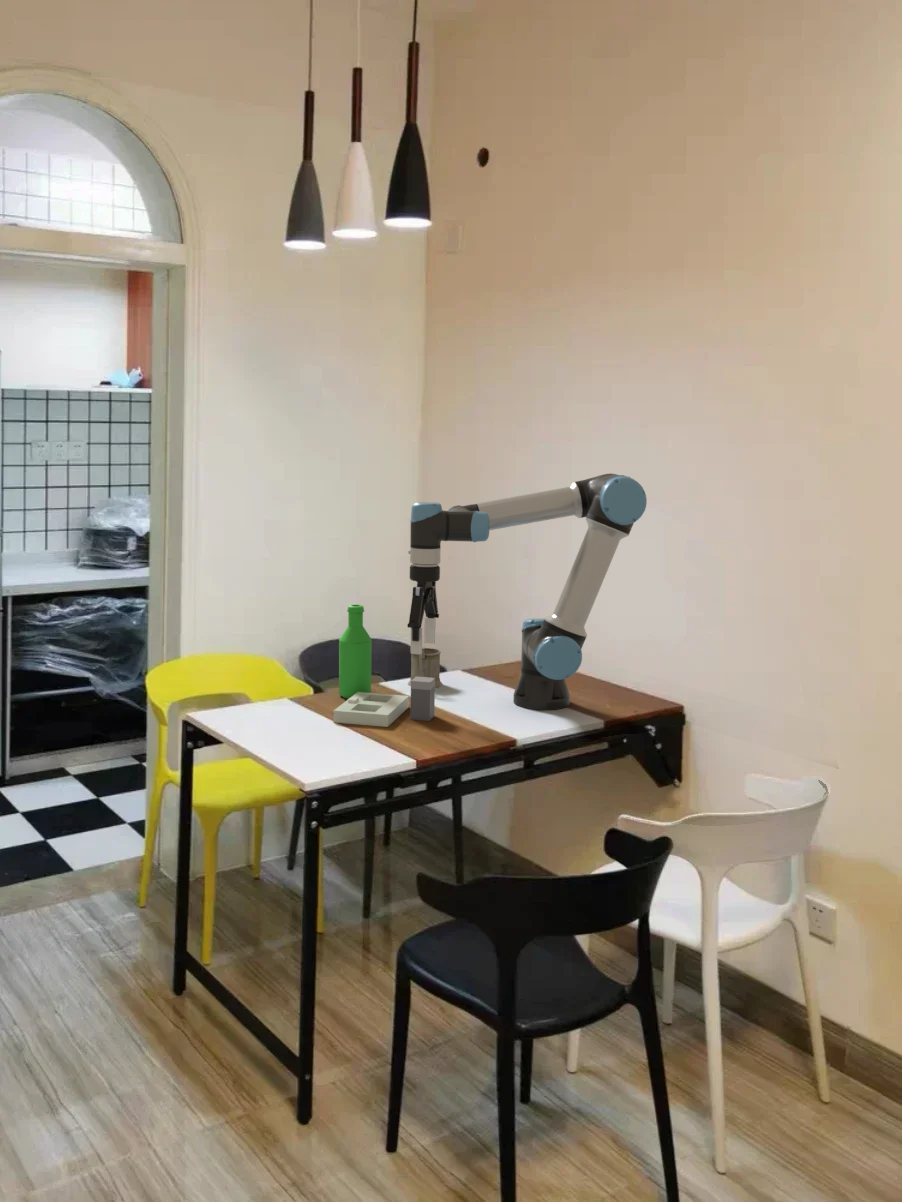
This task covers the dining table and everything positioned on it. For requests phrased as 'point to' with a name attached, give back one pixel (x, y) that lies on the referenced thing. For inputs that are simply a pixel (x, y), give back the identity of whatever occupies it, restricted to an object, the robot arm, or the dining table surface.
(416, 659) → the mug
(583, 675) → the dining table surface
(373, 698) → the socket plate
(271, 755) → the dining table surface
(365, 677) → the bottle
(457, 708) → the dining table surface
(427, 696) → the plug
